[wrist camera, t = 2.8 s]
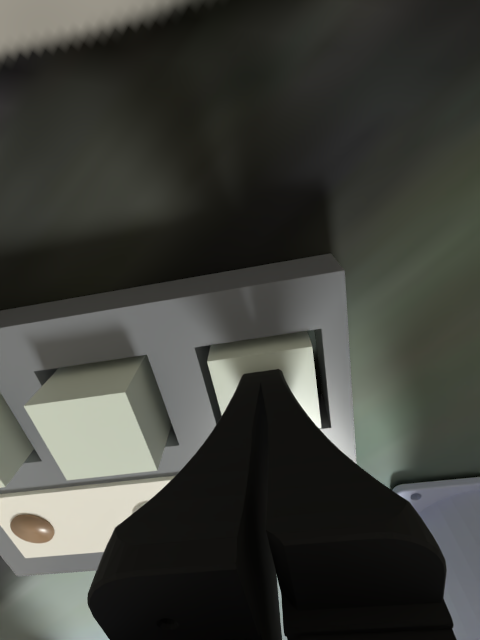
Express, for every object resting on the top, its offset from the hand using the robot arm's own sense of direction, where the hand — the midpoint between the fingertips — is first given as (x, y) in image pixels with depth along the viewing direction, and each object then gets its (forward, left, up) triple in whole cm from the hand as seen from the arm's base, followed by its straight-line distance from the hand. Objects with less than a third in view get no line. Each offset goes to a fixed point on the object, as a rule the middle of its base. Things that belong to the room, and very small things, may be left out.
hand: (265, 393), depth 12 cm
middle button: (+6, 0, -1) cm, 6 cm away
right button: (0, 0, -2) cm, 2 cm away
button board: (+6, +3, -2) cm, 7 cm away
